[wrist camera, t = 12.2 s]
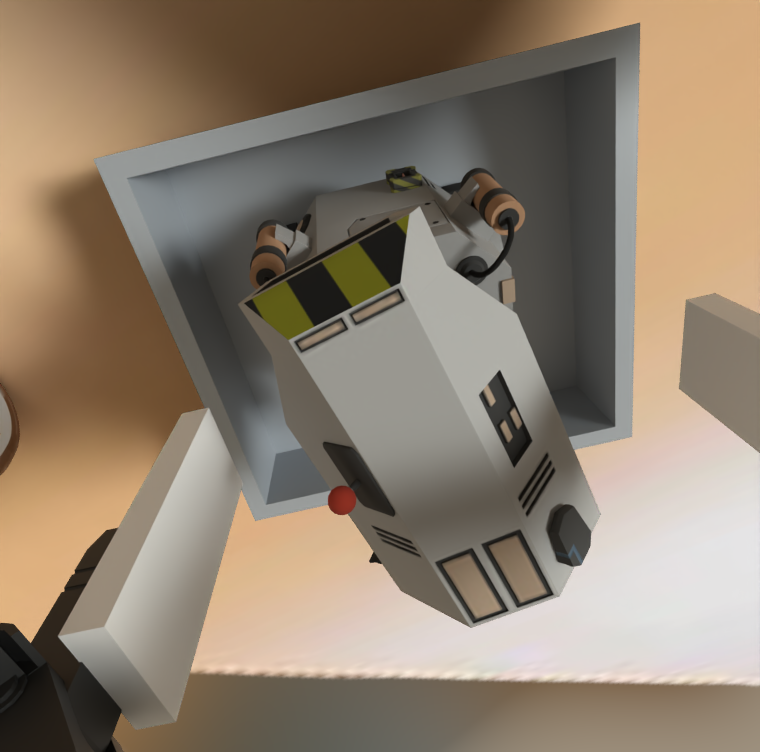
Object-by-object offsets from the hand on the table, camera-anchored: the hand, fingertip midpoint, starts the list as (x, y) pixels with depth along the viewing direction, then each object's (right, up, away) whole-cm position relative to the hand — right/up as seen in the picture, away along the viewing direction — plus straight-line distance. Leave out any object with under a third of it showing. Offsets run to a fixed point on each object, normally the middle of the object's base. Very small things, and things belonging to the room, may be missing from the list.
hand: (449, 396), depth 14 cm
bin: (-1, +5, +11) cm, 12 cm away
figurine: (-1, +5, +10) cm, 11 cm away
